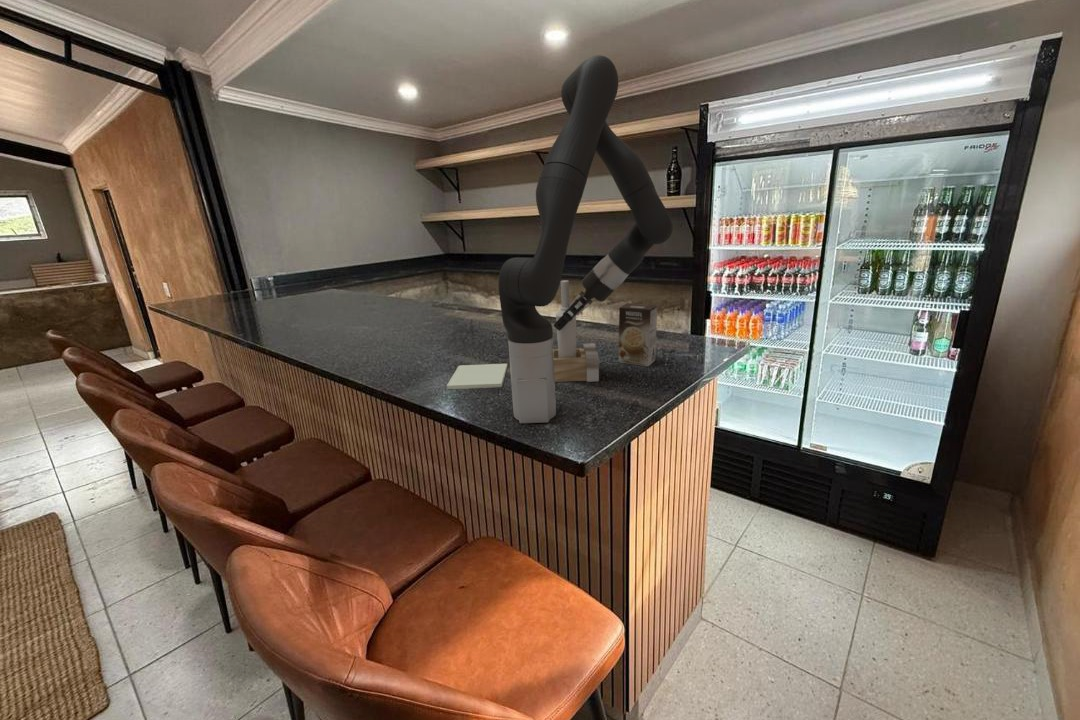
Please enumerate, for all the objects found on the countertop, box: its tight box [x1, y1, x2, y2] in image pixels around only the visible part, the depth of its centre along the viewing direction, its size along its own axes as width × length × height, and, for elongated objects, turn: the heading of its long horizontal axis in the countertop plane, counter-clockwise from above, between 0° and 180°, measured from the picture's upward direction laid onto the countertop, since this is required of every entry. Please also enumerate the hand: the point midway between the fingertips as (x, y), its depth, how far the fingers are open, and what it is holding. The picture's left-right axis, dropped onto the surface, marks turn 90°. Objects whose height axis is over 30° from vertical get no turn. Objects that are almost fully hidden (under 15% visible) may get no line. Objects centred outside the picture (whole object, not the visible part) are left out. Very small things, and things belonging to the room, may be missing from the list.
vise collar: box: [553, 342, 600, 383], centre depth 119 cm, size 12×15×7 cm
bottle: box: [555, 279, 577, 358], centre depth 116 cm, size 5×5×25 cm
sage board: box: [446, 363, 508, 390], centre depth 121 cm, size 16×14×1 cm
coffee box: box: [618, 302, 658, 367], centre depth 125 cm, size 9×6×16 cm
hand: (559, 325), depth 116 cm, fingers closed on bottle, 5 cm apart
